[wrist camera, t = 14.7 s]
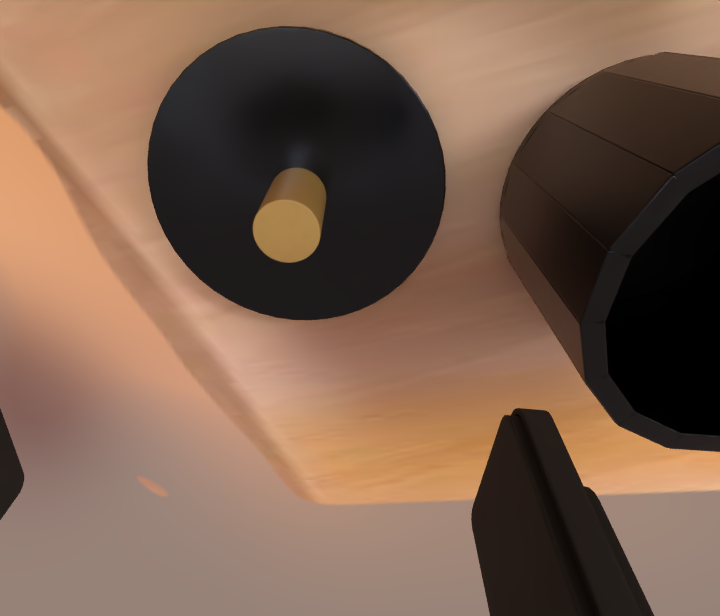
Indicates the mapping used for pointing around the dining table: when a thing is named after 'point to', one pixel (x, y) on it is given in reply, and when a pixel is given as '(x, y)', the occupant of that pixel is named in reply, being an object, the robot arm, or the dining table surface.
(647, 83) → the tin
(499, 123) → the dining table surface
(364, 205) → the tin lid
